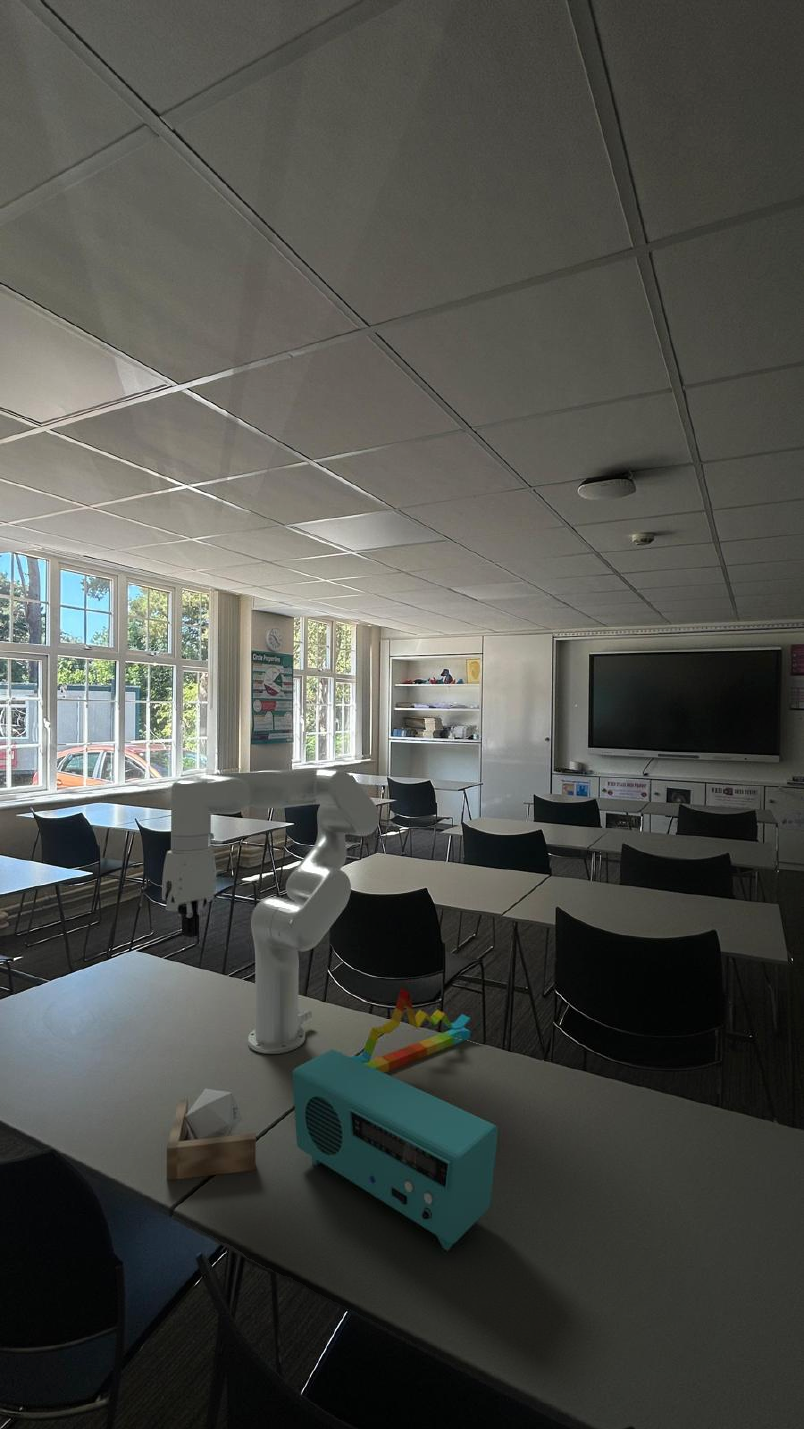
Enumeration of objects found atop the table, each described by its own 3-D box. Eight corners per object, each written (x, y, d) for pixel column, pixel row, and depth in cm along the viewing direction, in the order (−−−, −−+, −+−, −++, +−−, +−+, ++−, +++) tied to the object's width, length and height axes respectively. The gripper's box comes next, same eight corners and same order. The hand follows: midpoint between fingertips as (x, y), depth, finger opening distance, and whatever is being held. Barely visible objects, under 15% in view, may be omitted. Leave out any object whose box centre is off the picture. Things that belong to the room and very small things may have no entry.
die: (200, 1168, 109) (238, 1115, 110) (166, 1129, 112) (203, 1078, 114) (224, 1156, 116) (258, 1106, 118) (191, 1119, 119) (225, 1072, 121)
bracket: (183, 1125, 119) (183, 1096, 119) (260, 1166, 108) (260, 1135, 108) (130, 1157, 110) (130, 1127, 110) (207, 1205, 99) (207, 1172, 99)
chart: (460, 1033, 154) (460, 968, 154) (469, 1039, 151) (470, 972, 151) (349, 1077, 135) (349, 1002, 135) (358, 1084, 133) (358, 1008, 133)
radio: (285, 1162, 109) (286, 1070, 109) (332, 1132, 117) (332, 1046, 117) (456, 1277, 87) (457, 1161, 87) (499, 1230, 95) (500, 1124, 95)
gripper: (208, 834, 141) (208, 922, 141) (146, 846, 128) (145, 942, 128) (233, 838, 137) (232, 928, 137) (171, 851, 124) (170, 950, 124)
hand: (190, 935), depth 133 cm, fingers closed
